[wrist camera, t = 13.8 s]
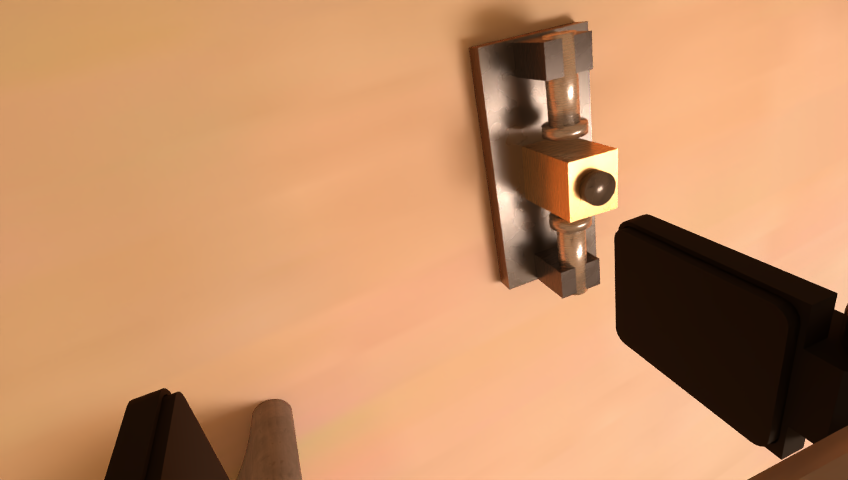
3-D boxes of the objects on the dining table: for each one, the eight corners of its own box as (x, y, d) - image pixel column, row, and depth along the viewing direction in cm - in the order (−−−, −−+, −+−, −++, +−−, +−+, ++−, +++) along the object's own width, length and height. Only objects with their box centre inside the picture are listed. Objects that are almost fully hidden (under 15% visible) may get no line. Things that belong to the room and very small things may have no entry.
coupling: (521, 146, 37) (575, 165, 31) (566, 134, 38) (626, 151, 32) (525, 198, 39) (576, 226, 33) (567, 186, 40) (624, 211, 34)
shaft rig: (468, 47, 35) (510, 48, 29) (575, 22, 37) (632, 18, 31) (501, 282, 43) (538, 315, 38) (586, 250, 45) (632, 278, 40)
